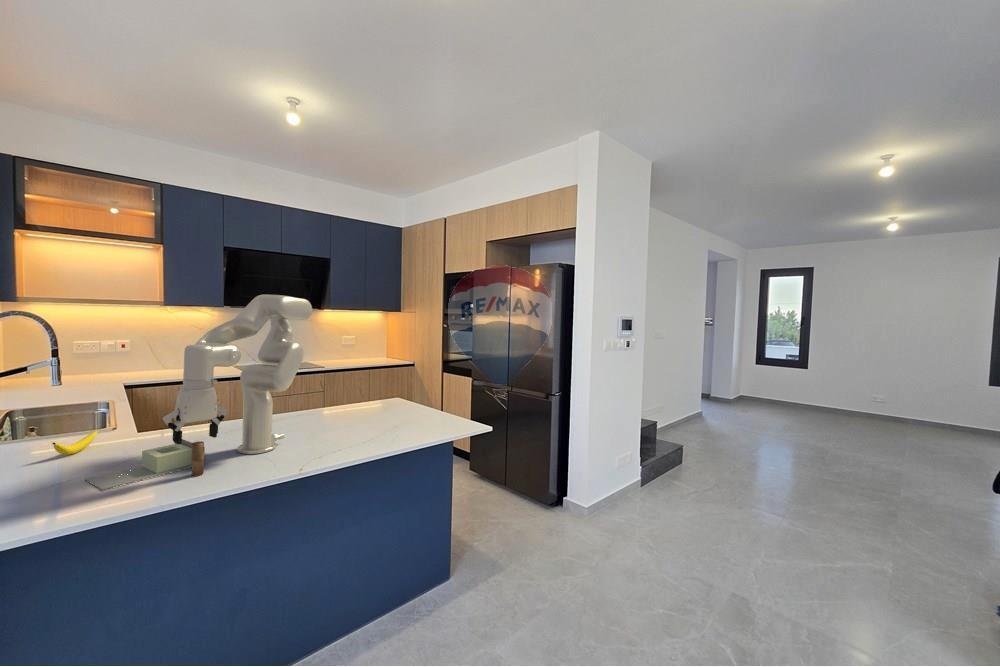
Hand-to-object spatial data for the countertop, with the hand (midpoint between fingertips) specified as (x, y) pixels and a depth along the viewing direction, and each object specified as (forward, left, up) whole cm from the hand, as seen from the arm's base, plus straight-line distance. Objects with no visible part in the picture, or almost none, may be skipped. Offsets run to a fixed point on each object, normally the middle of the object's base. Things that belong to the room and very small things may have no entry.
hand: (195, 440), depth 128 cm
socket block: (+1, -14, -11) cm, 18 cm away
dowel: (-1, 0, -11) cm, 11 cm away
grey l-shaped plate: (+7, -14, -11) cm, 19 cm away
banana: (+12, -52, -11) cm, 55 cm away
